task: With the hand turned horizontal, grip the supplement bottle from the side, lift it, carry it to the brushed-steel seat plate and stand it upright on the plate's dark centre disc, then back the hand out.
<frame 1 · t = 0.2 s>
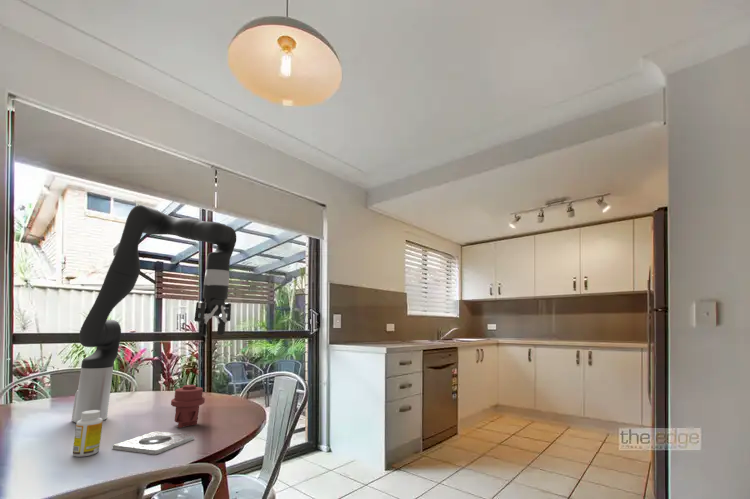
hand: (211, 335, 127), 29 cm above the table, tool pointing down, fingers open, 8 cm apart
seat plate: (154, 443, 110), on the table
supplement bottle: (85, 454, 101), on the table
mechanical component: (185, 425, 130), on the table
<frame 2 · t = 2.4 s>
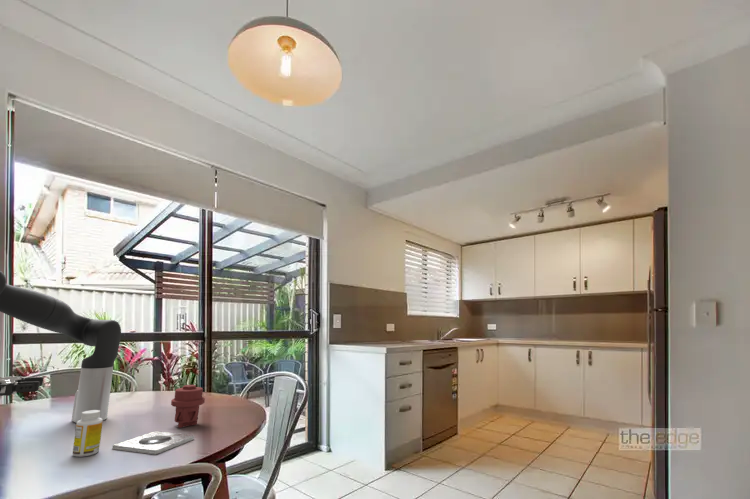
hand: (41, 383, 98), 18 cm above the table, tool horizontal, fingers open, 8 cm apart
nothing on the table moved.
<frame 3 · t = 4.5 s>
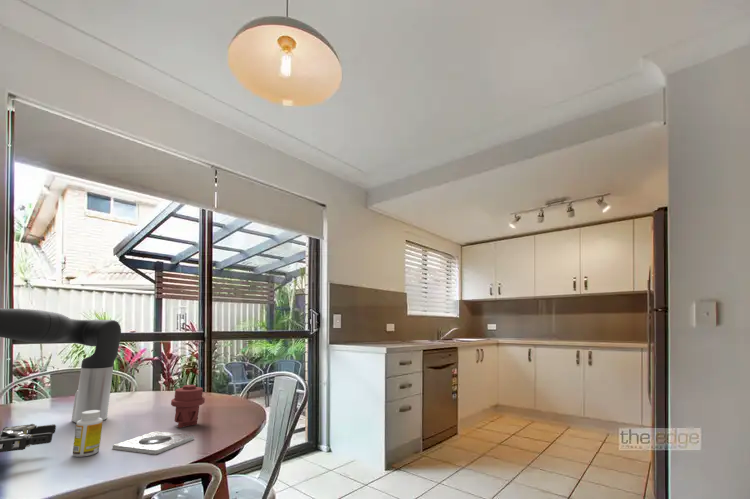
hand: (53, 433, 99), 6 cm above the table, tool horizontal, fingers open, 8 cm apart
nothing on the table moved.
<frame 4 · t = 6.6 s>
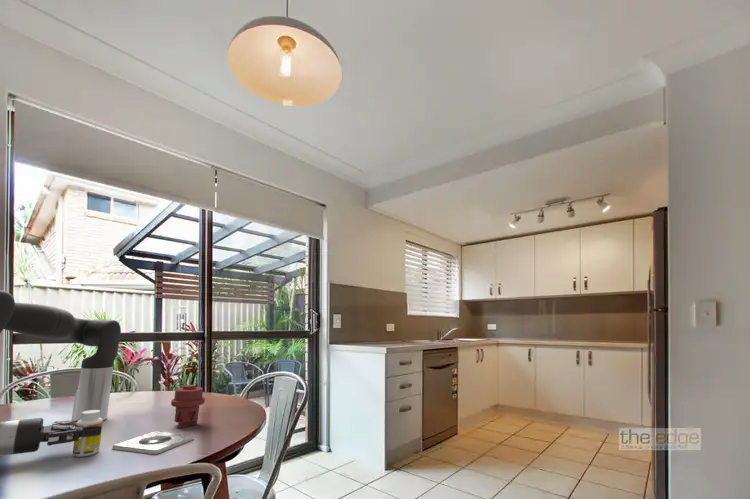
hand: (100, 427, 104), 6 cm above the table, tool horizontal, fingers closed on supplement bottle, 5 cm apart
supplement bottle: (85, 454, 101), on the table, touching gripper
everything else where it was.
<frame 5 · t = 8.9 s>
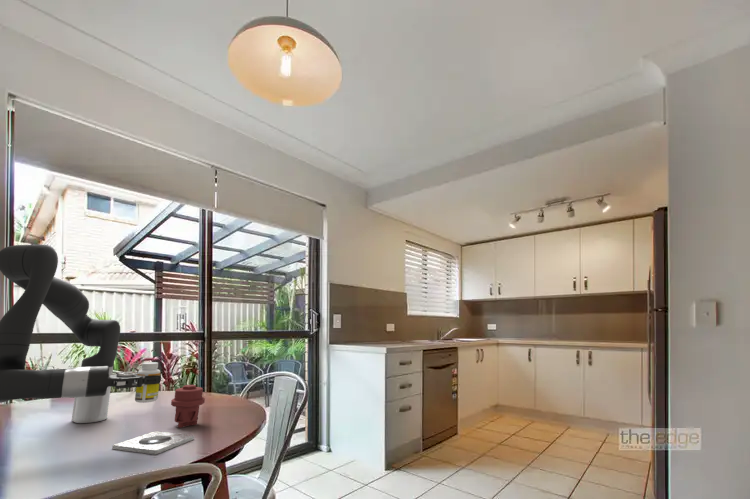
hand: (158, 377, 113), 18 cm above the table, tool horizontal, fingers closed on supplement bottle, 5 cm apart
supplement bottle: (145, 401, 110), point 11 cm above the table, touching gripper
everything else where it was.
when the fingers open (8 cm above the table, at t = 11.5 s): supplement bottle drops 1 cm, resting on seat plate.
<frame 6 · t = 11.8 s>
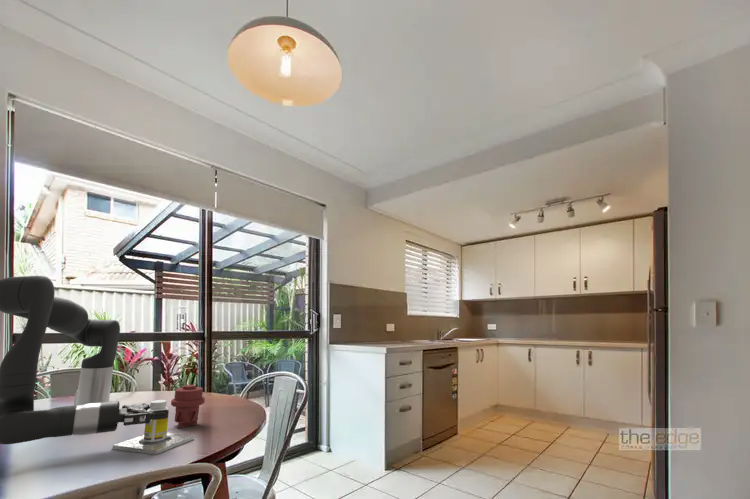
hand: (166, 410, 113), 8 cm above the table, tool horizontal, fingers open, 8 cm apart
supplement bottle: (154, 440, 110), point 1 cm above the table, touching seat plate
everything else where it was.
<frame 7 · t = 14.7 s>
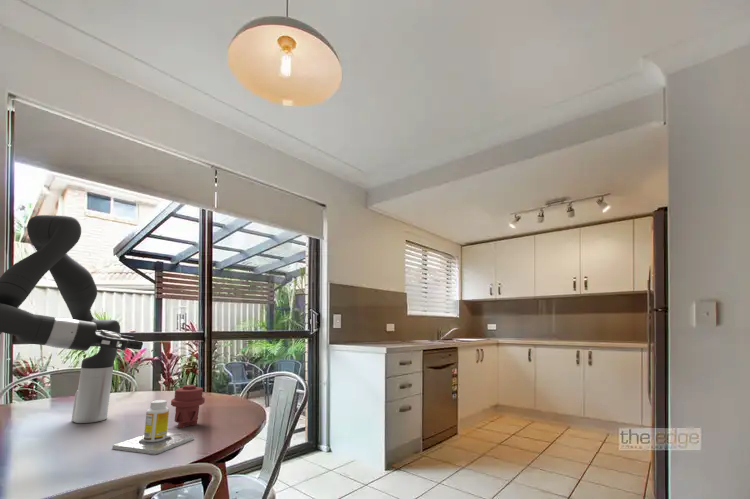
hand: (137, 343, 115), 27 cm above the table, tool horizontal, fingers open, 8 cm apart
nothing on the table moved.
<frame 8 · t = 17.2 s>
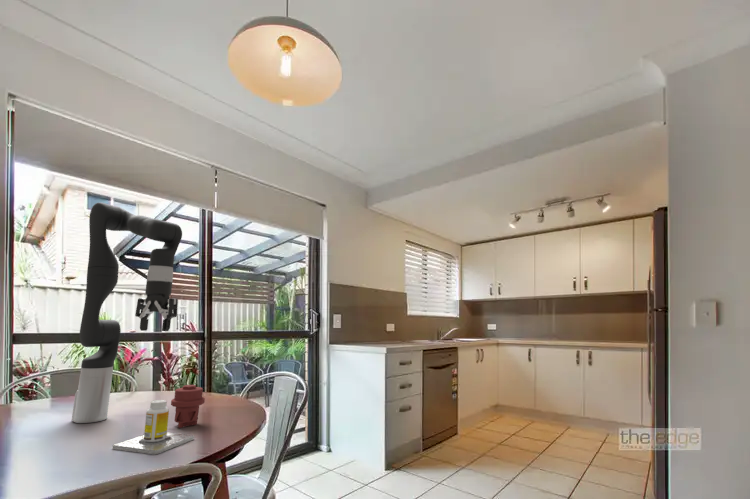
hand: (154, 330, 129), 30 cm above the table, tool pointing down, fingers open, 8 cm apart
nothing on the table moved.
at the end: supplement bottle inside the target area on the seat plate (0.1 cm from its centre), point 0.8 cm above the seat plate's base; supplement bottle tilted 0°; the gripper is holding nothing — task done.
